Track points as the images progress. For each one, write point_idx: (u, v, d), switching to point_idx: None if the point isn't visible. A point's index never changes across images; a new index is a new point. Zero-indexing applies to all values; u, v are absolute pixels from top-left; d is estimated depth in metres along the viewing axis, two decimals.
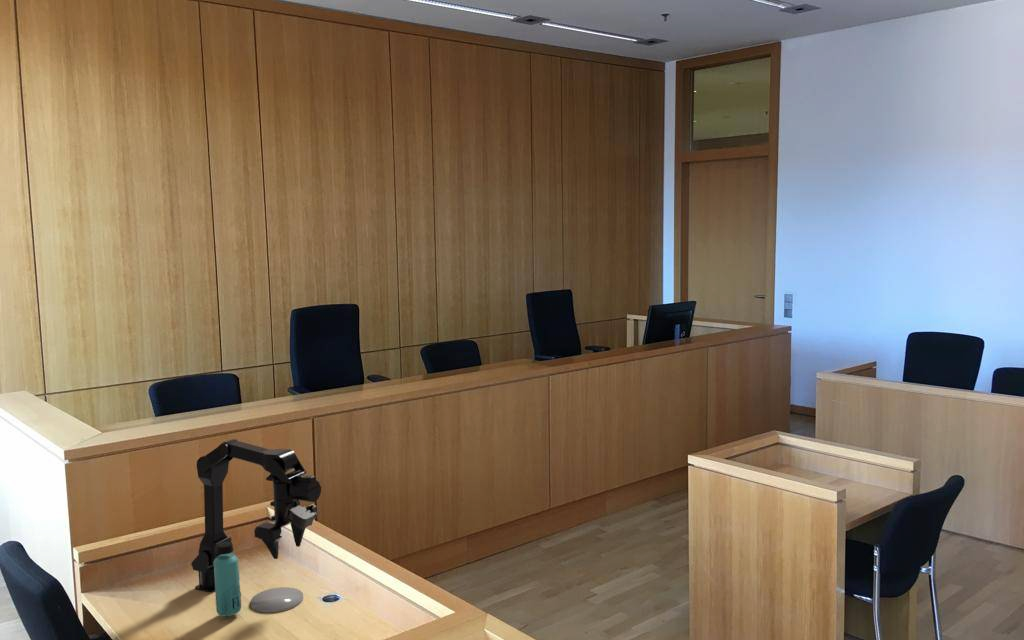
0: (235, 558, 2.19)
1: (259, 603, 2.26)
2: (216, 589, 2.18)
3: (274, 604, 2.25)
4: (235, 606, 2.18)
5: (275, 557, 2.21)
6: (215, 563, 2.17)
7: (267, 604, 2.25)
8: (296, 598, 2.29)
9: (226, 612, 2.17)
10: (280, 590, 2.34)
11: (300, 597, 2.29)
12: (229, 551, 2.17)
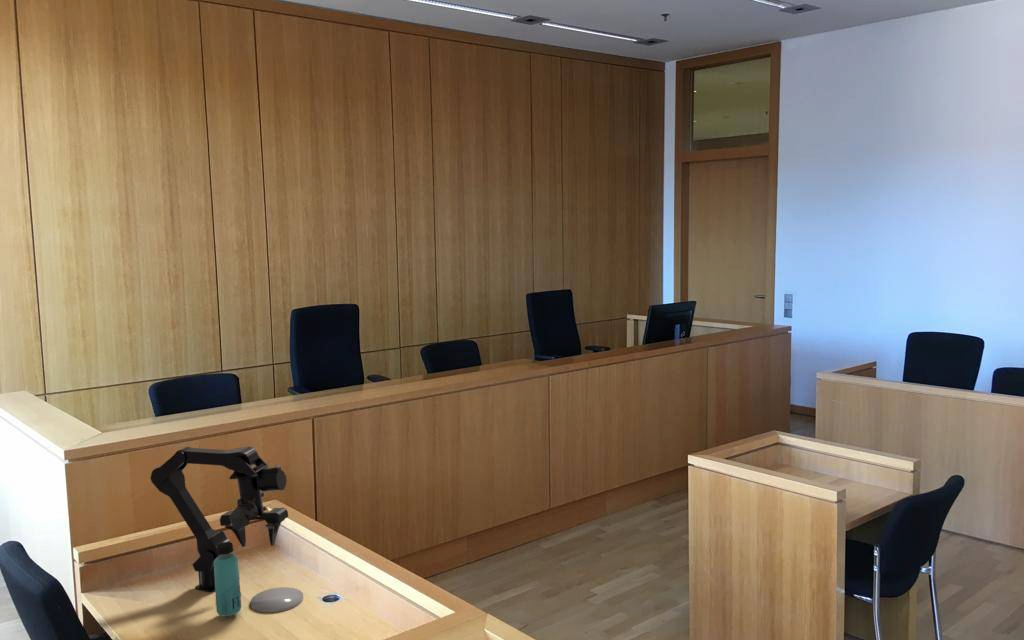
0: (235, 558, 2.19)
1: (259, 603, 2.26)
2: (216, 589, 2.18)
3: (274, 604, 2.25)
4: (235, 606, 2.18)
5: None
6: (215, 563, 2.17)
7: (267, 604, 2.25)
8: (296, 598, 2.29)
9: (226, 612, 2.17)
10: (280, 590, 2.34)
11: (300, 597, 2.29)
12: (229, 551, 2.17)
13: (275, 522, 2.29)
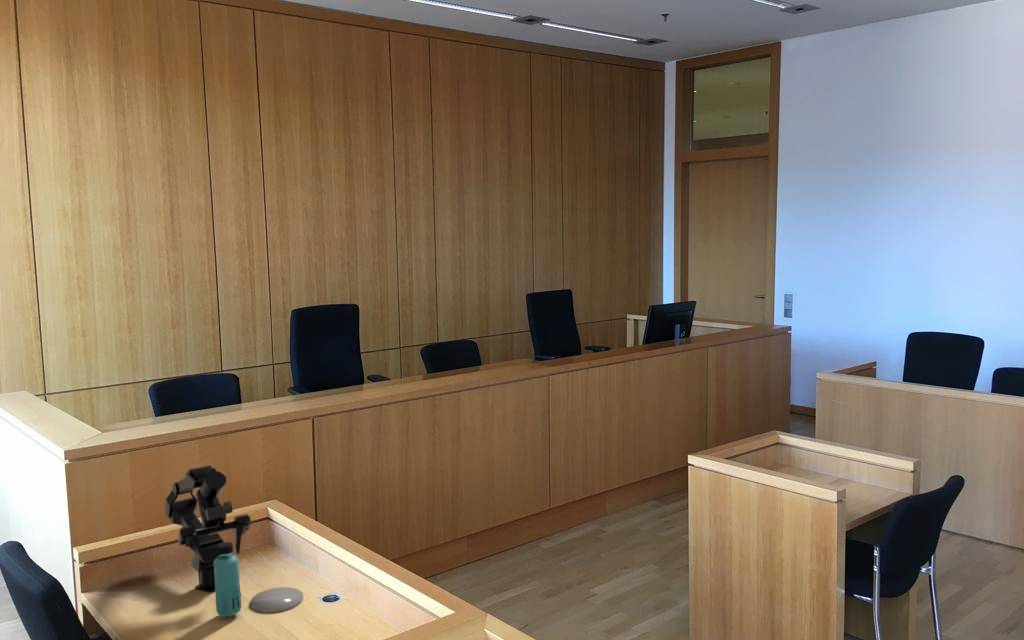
0: (235, 558, 2.19)
1: (259, 603, 2.26)
2: (216, 589, 2.18)
3: (274, 604, 2.25)
4: (235, 606, 2.18)
5: (202, 560, 2.23)
6: (215, 563, 2.17)
7: (267, 604, 2.25)
8: (296, 598, 2.29)
9: (226, 612, 2.17)
10: (280, 590, 2.34)
11: (300, 597, 2.29)
12: (229, 551, 2.17)
13: (248, 520, 2.32)
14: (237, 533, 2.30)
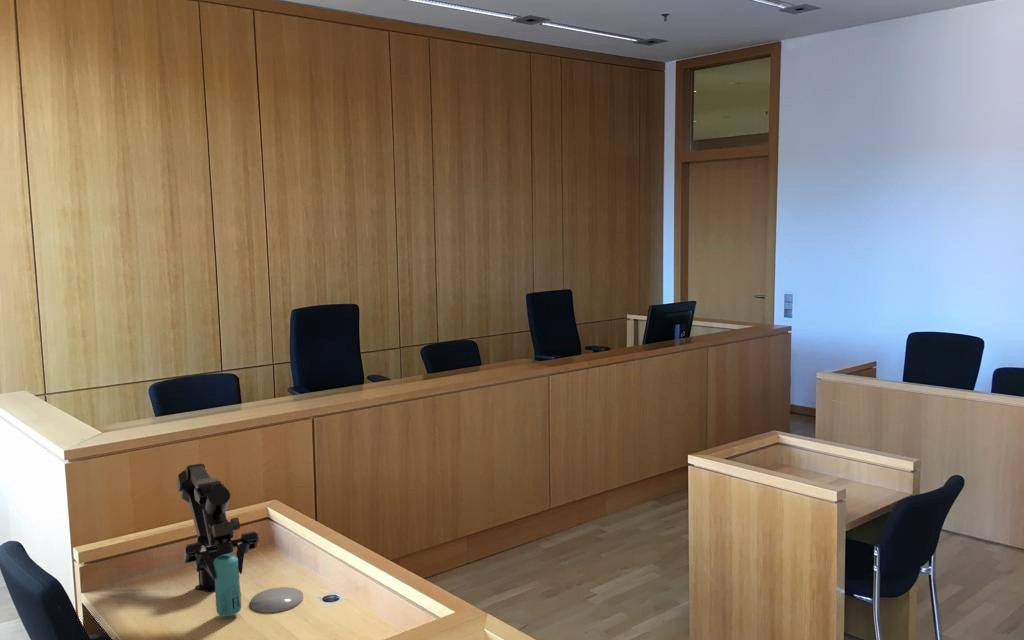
0: (235, 558, 2.19)
1: (259, 603, 2.26)
2: (216, 589, 2.18)
3: (274, 604, 2.25)
4: (235, 606, 2.18)
5: (213, 577, 2.16)
6: (215, 563, 2.17)
7: (267, 604, 2.25)
8: (296, 598, 2.29)
9: (226, 612, 2.17)
10: (280, 590, 2.34)
11: (300, 597, 2.29)
12: (229, 551, 2.17)
13: (255, 537, 2.24)
14: (240, 552, 2.22)
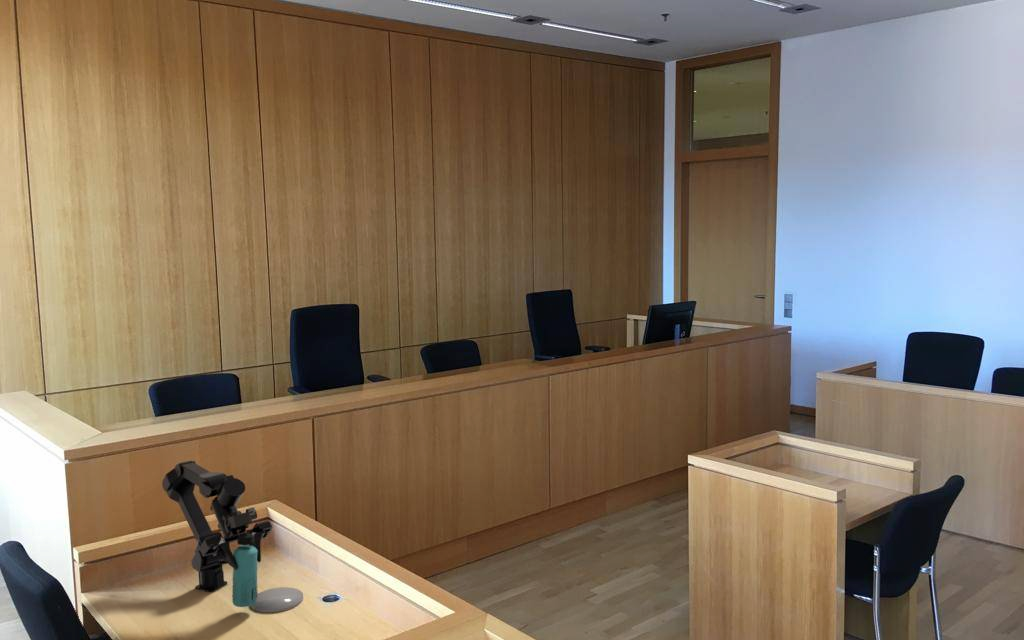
0: (255, 549, 2.22)
1: (259, 603, 2.26)
2: (235, 580, 2.19)
3: (274, 604, 2.25)
4: (253, 597, 2.21)
5: (235, 567, 2.18)
6: (237, 554, 2.19)
7: (267, 604, 2.25)
8: (296, 598, 2.29)
9: (245, 603, 2.19)
10: (280, 590, 2.34)
11: (300, 597, 2.29)
12: (251, 542, 2.20)
13: (270, 526, 2.28)
14: (256, 541, 2.25)
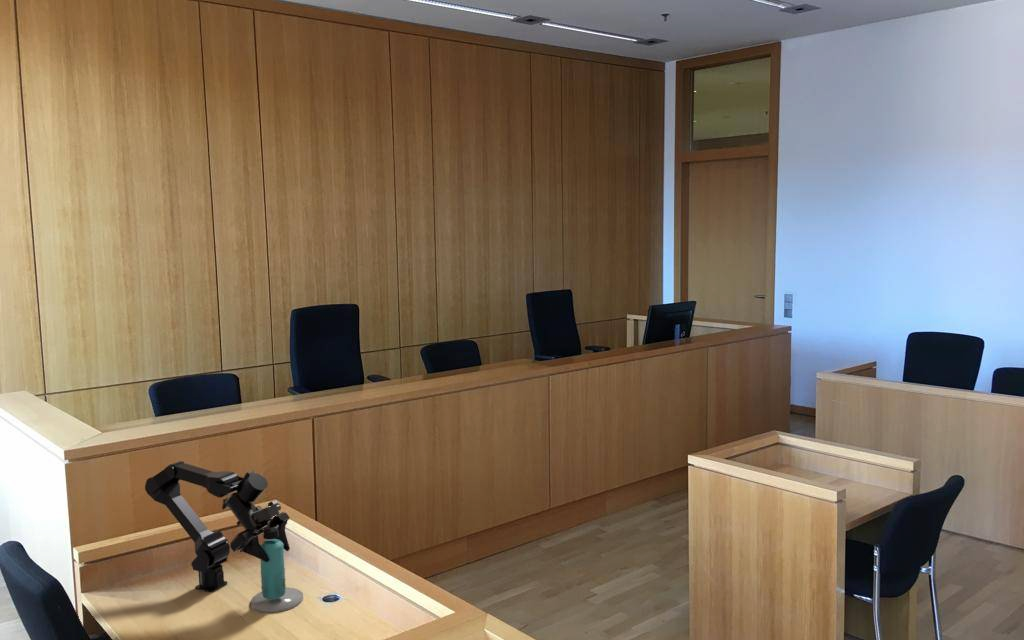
0: None
1: (259, 603, 2.26)
2: (267, 574, 2.24)
3: (274, 604, 2.25)
4: (284, 587, 2.27)
5: (266, 559, 2.23)
6: (267, 548, 2.23)
7: (267, 604, 2.25)
8: (296, 598, 2.29)
9: (278, 594, 2.25)
10: None
11: (300, 597, 2.29)
12: (278, 535, 2.26)
13: (288, 517, 2.35)
14: (282, 531, 2.32)
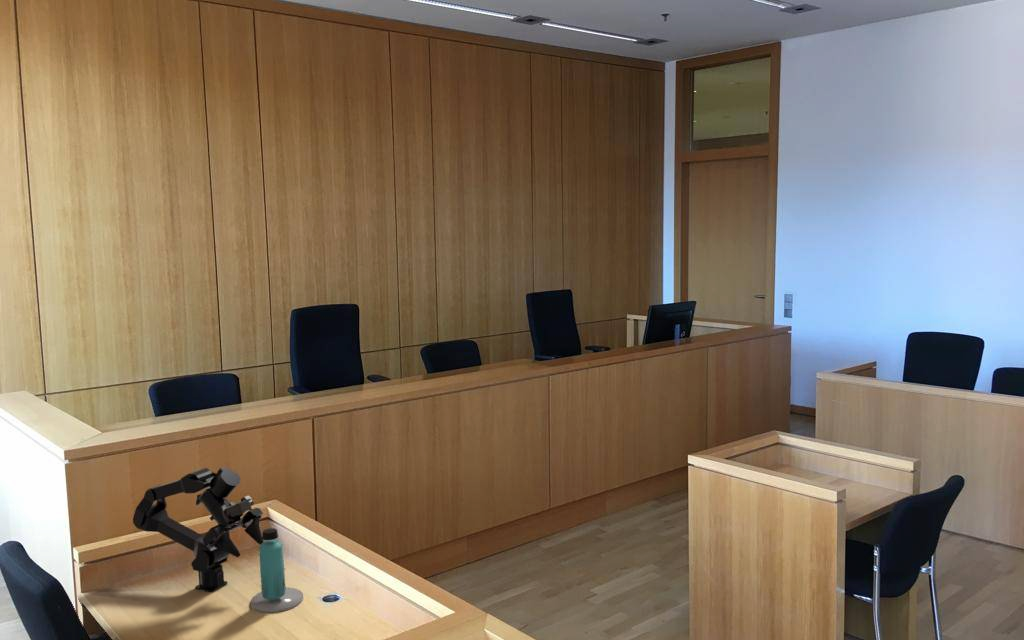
0: (280, 542, 2.27)
1: (259, 603, 2.26)
2: (266, 575, 2.24)
3: (274, 604, 2.25)
4: (284, 587, 2.27)
5: (237, 554, 2.26)
6: (266, 549, 2.23)
7: (267, 604, 2.25)
8: (296, 598, 2.29)
9: (278, 594, 2.25)
10: None
11: (300, 597, 2.29)
12: (277, 535, 2.26)
13: (261, 512, 2.39)
14: (256, 525, 2.36)
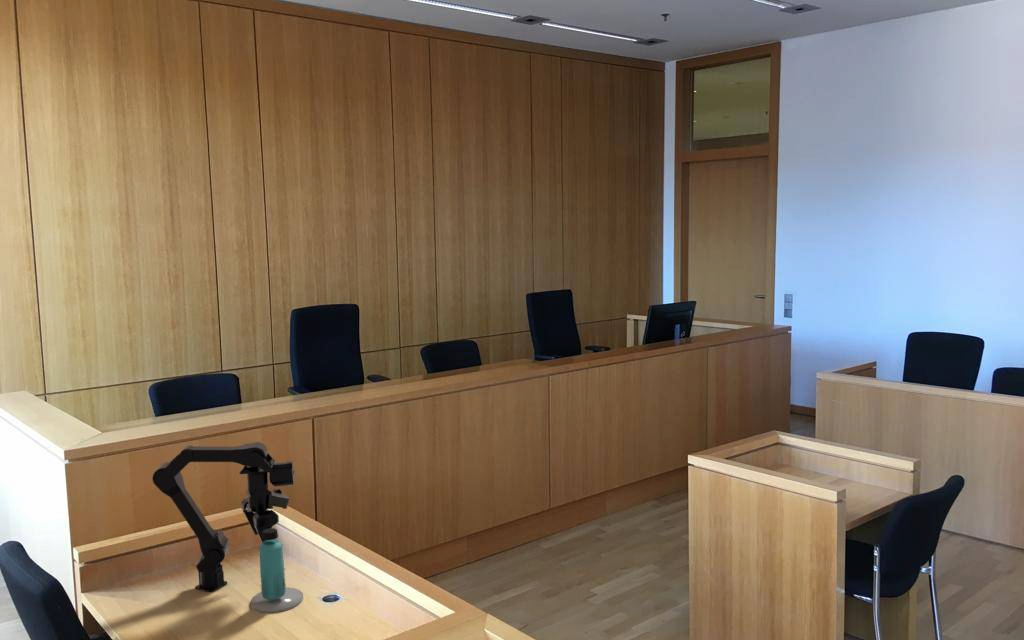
0: (280, 542, 2.27)
1: (259, 603, 2.26)
2: (266, 575, 2.24)
3: (274, 604, 2.25)
4: (284, 587, 2.27)
5: None
6: (266, 549, 2.23)
7: (267, 604, 2.25)
8: (296, 598, 2.29)
9: (278, 594, 2.25)
10: None
11: (300, 597, 2.29)
12: (277, 535, 2.26)
13: None
14: None
